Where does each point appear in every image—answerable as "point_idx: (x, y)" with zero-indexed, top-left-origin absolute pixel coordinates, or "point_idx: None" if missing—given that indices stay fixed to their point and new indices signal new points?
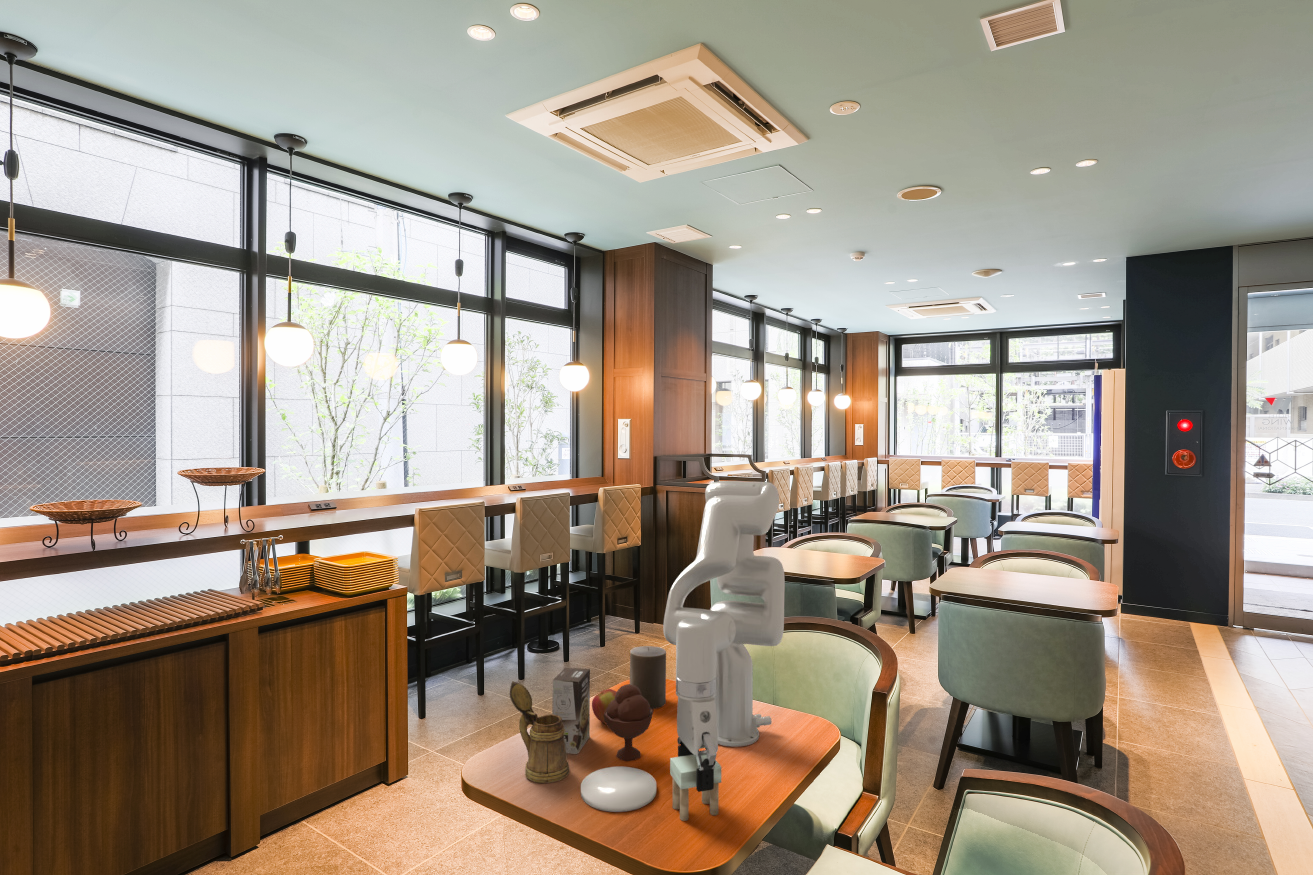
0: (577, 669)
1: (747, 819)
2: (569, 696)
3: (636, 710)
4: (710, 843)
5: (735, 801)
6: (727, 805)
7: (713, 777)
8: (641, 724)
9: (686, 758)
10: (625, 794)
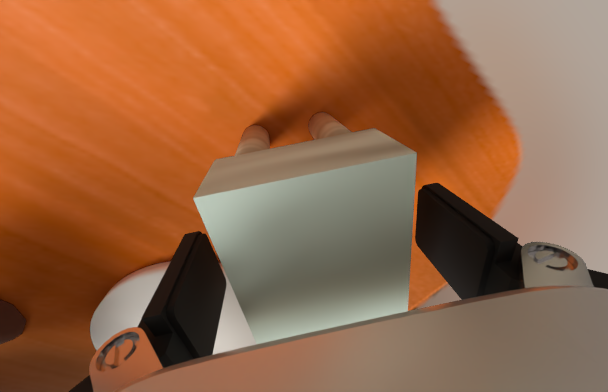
0: None
1: (382, 14)
2: None
3: None
4: (448, 164)
5: (260, 24)
6: (284, 67)
7: (470, 206)
8: None
9: (277, 313)
10: (238, 325)
